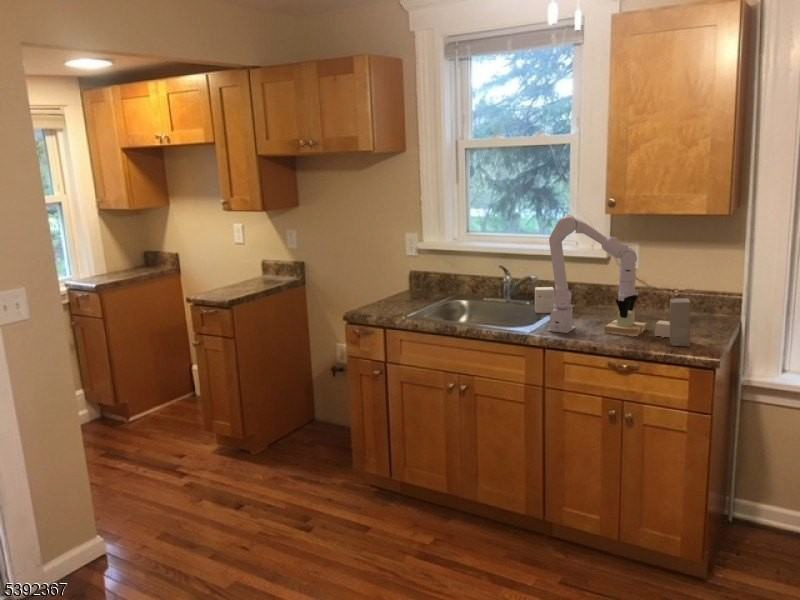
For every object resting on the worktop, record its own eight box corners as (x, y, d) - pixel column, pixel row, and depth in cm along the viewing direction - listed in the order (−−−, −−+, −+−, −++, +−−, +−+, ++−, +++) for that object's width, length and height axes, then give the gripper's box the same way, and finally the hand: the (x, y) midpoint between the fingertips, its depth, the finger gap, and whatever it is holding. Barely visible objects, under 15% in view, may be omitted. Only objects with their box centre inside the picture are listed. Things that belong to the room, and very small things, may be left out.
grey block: (669, 338, 236) (669, 325, 235) (655, 336, 239) (655, 323, 238) (672, 335, 240) (673, 321, 239) (658, 333, 243) (659, 320, 242)
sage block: (630, 326, 244) (630, 313, 242) (617, 325, 246) (617, 312, 245) (634, 323, 248) (634, 310, 246) (620, 322, 250) (621, 309, 249)
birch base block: (636, 338, 239) (637, 329, 239) (604, 334, 246) (604, 326, 246) (646, 330, 249) (646, 322, 248) (615, 326, 256) (615, 319, 255)
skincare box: (690, 347, 224) (692, 302, 221) (667, 346, 227) (669, 301, 223) (689, 340, 232) (691, 297, 228) (667, 339, 234) (669, 296, 231)
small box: (553, 310, 286) (553, 286, 283) (554, 313, 280) (554, 289, 278) (534, 310, 286) (534, 287, 284) (535, 313, 281) (535, 289, 279)
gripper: (632, 284, 235) (631, 321, 238) (643, 278, 247) (642, 312, 250) (612, 283, 239) (611, 319, 242) (625, 276, 251) (624, 310, 254)
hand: (626, 315), depth 246 cm, fingers open, 5 cm apart
